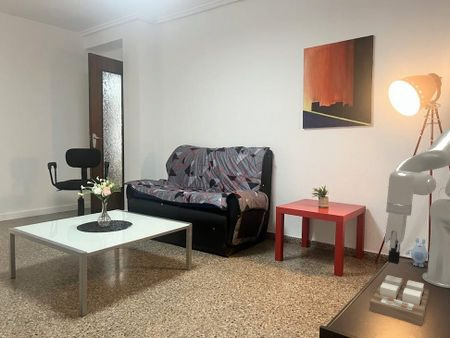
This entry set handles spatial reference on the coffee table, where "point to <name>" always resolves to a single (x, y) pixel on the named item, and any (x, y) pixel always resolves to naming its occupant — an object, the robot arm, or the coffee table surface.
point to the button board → (399, 306)
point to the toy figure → (418, 253)
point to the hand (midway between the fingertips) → (393, 262)
